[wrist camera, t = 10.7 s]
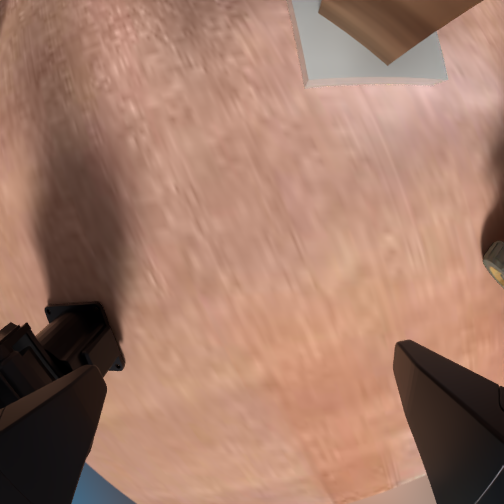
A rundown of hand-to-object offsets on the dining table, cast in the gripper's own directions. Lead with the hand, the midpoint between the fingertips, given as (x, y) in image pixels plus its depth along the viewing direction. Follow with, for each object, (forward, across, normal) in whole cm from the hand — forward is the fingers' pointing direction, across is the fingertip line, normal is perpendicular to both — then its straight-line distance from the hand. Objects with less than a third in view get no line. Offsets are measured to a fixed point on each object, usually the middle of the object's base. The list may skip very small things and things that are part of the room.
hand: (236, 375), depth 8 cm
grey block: (+14, -9, -14) cm, 21 cm away
